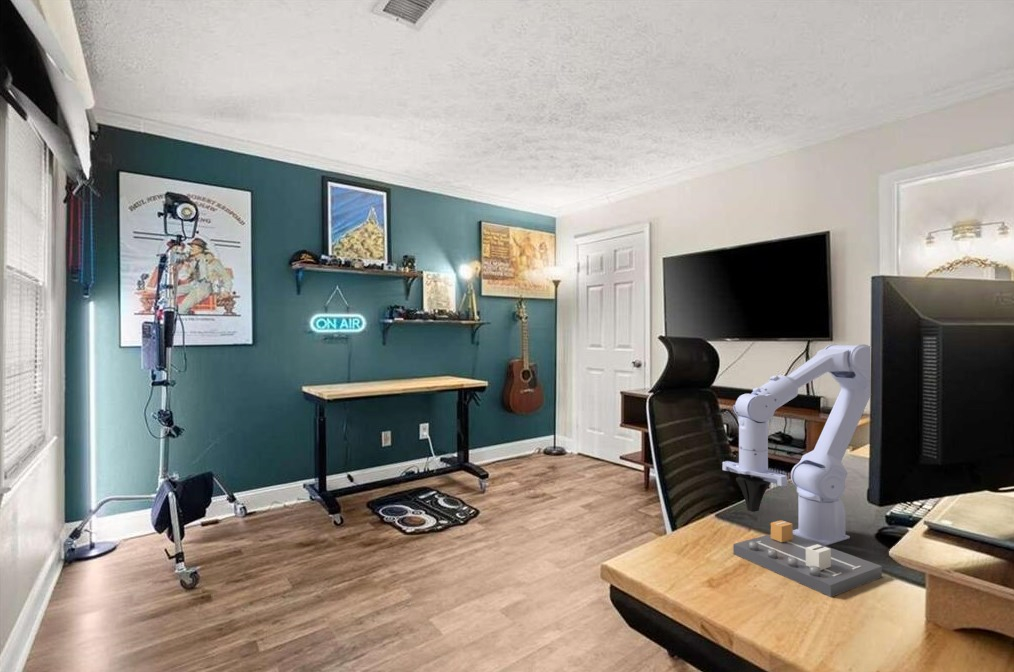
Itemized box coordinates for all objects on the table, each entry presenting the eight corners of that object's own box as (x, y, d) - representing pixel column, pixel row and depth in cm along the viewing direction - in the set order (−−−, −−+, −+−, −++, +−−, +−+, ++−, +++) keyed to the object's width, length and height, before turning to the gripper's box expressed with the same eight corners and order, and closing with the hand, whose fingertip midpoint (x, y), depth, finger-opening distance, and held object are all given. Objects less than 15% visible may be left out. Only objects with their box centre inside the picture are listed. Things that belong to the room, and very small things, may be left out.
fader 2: (817, 561, 91) (817, 543, 91) (830, 566, 89) (830, 548, 89) (805, 565, 90) (805, 547, 90) (819, 570, 87) (818, 552, 87)
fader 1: (781, 535, 104) (781, 519, 104) (792, 539, 102) (792, 523, 102) (770, 538, 102) (770, 522, 102) (781, 542, 100) (781, 526, 100)
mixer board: (783, 539, 107) (783, 525, 107) (882, 577, 90) (881, 559, 90) (733, 553, 99) (733, 538, 100) (830, 597, 83) (830, 577, 83)
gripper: (713, 444, 113) (713, 503, 112) (772, 457, 100) (772, 524, 99) (734, 441, 116) (734, 499, 116) (793, 454, 103) (793, 518, 103)
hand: (753, 510), depth 108 cm, fingers closed
